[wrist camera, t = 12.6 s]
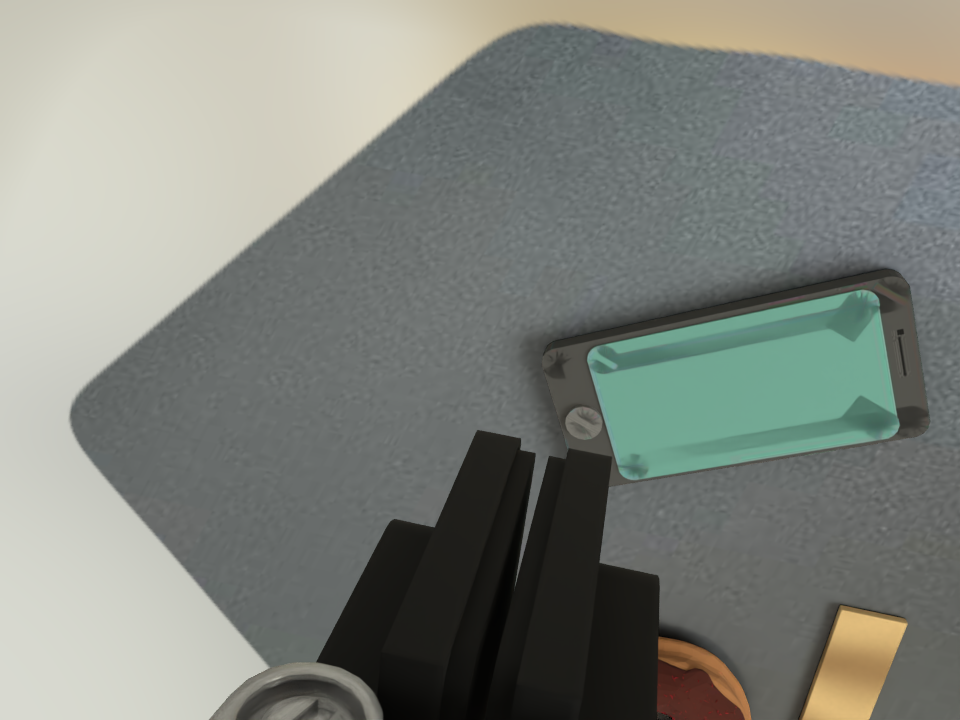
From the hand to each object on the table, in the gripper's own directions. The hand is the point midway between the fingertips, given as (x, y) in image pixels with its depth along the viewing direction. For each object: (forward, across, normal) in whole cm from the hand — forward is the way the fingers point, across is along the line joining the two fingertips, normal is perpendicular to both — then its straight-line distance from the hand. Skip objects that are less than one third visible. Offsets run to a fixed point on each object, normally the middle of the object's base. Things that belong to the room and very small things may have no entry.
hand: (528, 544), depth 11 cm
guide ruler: (+27, -15, +27) cm, 41 cm away
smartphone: (+27, -6, +9) cm, 29 cm away
